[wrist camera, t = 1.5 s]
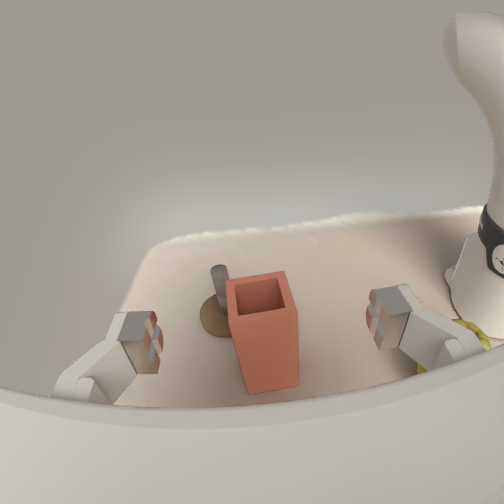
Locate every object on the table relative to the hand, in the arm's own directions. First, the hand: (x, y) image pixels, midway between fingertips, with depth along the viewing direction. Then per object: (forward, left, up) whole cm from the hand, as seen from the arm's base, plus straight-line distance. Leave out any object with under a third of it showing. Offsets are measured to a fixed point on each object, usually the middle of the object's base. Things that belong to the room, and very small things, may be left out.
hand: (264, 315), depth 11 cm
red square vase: (-5, -11, -22) cm, 25 cm away
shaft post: (-6, -22, -22) cm, 31 cm away
